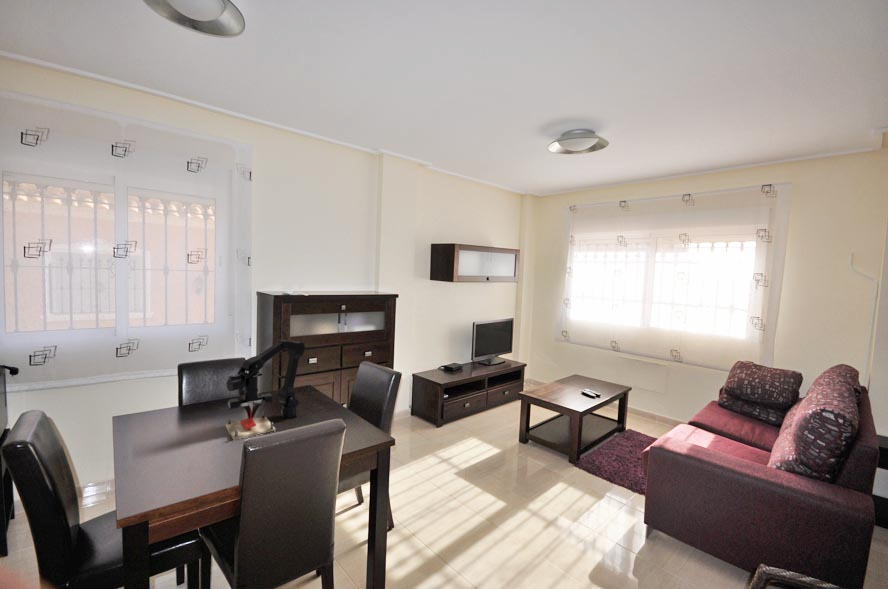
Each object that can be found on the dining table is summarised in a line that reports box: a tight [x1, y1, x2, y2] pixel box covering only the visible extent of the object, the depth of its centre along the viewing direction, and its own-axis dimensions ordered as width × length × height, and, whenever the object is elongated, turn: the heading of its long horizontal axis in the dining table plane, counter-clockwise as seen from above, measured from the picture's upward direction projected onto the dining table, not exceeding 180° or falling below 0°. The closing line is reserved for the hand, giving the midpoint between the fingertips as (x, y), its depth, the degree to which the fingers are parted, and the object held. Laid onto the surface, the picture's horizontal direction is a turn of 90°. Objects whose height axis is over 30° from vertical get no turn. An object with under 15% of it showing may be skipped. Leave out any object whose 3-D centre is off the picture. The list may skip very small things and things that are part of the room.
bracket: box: [239, 407, 256, 429], centre depth 188 cm, size 12×4×8 cm, turn 37°
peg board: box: [225, 411, 276, 441], centre depth 189 cm, size 18×18×4 cm
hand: (250, 418), depth 188 cm, fingers closed on bracket
